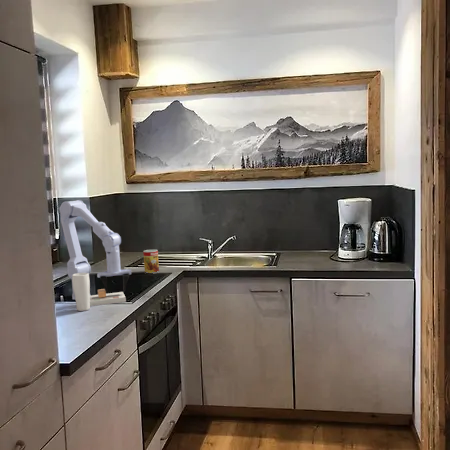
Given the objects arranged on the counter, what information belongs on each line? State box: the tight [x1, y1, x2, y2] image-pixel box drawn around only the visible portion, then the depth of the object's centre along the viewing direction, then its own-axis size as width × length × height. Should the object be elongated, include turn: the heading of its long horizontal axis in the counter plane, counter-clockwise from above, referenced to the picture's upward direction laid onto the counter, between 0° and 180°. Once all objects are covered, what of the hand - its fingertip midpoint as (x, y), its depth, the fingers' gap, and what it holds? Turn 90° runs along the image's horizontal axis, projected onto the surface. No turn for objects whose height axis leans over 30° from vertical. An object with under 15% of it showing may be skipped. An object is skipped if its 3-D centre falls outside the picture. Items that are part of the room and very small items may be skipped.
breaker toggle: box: [97, 288, 107, 298], centre depth 235 cm, size 5×3×3 cm, turn 17°
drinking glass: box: [71, 273, 91, 312], centre depth 222 cm, size 7×7×15 cm
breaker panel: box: [90, 291, 127, 307], centre depth 235 cm, size 11×16×2 cm
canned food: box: [142, 249, 160, 273], centre depth 295 cm, size 8×8×12 cm
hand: (115, 291), depth 236 cm, fingers open, 7 cm apart
